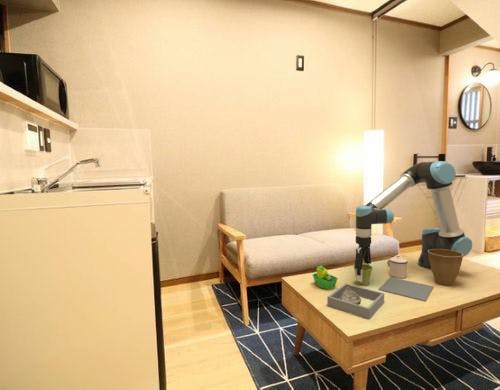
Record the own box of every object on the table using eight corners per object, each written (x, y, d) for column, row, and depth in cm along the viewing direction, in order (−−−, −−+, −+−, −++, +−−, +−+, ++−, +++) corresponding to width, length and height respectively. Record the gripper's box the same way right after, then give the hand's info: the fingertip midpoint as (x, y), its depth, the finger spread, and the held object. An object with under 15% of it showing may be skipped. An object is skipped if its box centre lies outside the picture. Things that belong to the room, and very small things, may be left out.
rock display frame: (345, 291, 138) (345, 283, 137) (384, 301, 126) (384, 293, 125) (327, 305, 124) (327, 296, 123) (369, 319, 112) (369, 309, 111)
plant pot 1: (376, 284, 145) (377, 268, 144) (362, 287, 141) (362, 271, 141) (363, 278, 153) (363, 262, 153) (349, 281, 150) (349, 265, 149)
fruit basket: (338, 287, 142) (338, 266, 141) (326, 292, 138) (326, 269, 137) (322, 280, 152) (322, 260, 151) (309, 284, 147) (309, 263, 146)
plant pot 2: (460, 280, 147) (462, 250, 146) (462, 290, 135) (464, 258, 134) (427, 275, 156) (428, 247, 154) (426, 284, 143) (427, 253, 142)
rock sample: (330, 294, 126) (345, 281, 127) (335, 299, 131) (349, 287, 132) (347, 312, 119) (362, 298, 119) (351, 317, 124) (366, 304, 124)
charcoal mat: (390, 277, 153) (390, 276, 153) (433, 287, 140) (433, 286, 140) (378, 289, 138) (378, 288, 138) (425, 301, 125) (425, 300, 125)
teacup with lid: (411, 277, 153) (411, 256, 152) (398, 279, 151) (398, 258, 150) (393, 270, 165) (394, 250, 164) (381, 272, 162) (381, 252, 161)
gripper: (363, 231, 156) (363, 270, 158) (347, 239, 140) (347, 282, 141) (377, 233, 151) (377, 273, 153) (362, 241, 135) (362, 286, 136)
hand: (362, 278), depth 147 cm, fingers closed on plant pot 1, 9 cm apart
